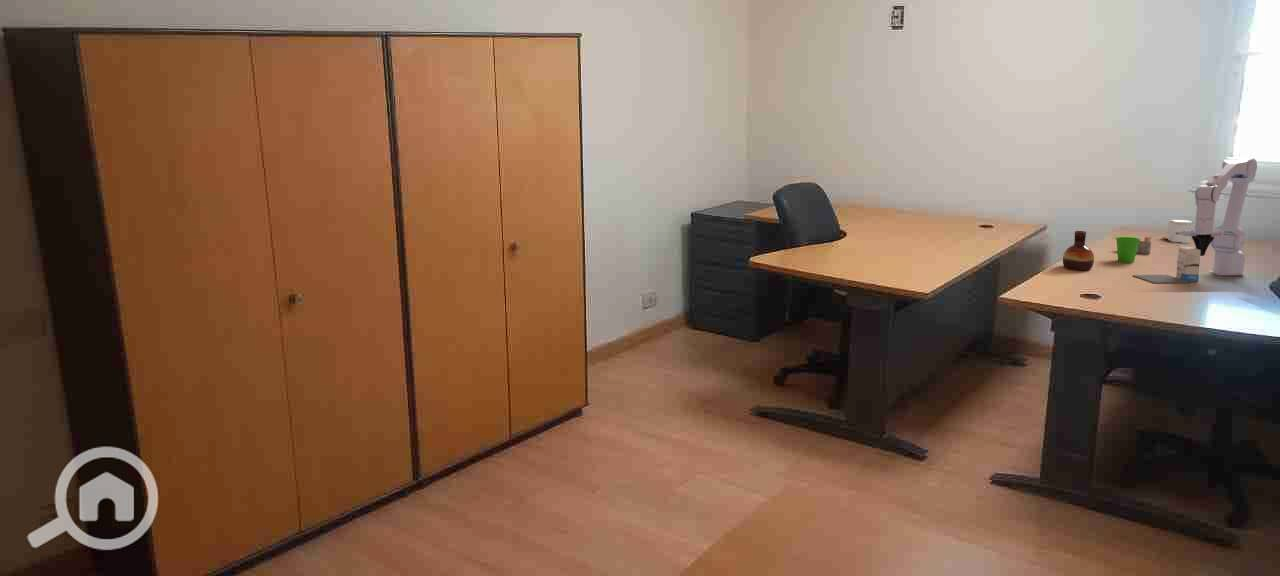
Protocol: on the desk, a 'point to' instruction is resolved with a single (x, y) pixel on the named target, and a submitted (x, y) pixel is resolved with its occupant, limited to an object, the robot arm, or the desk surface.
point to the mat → (1160, 279)
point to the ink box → (1188, 263)
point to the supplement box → (1179, 230)
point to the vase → (1078, 254)
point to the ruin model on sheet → (1144, 246)
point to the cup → (1127, 248)
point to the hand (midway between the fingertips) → (1200, 255)
